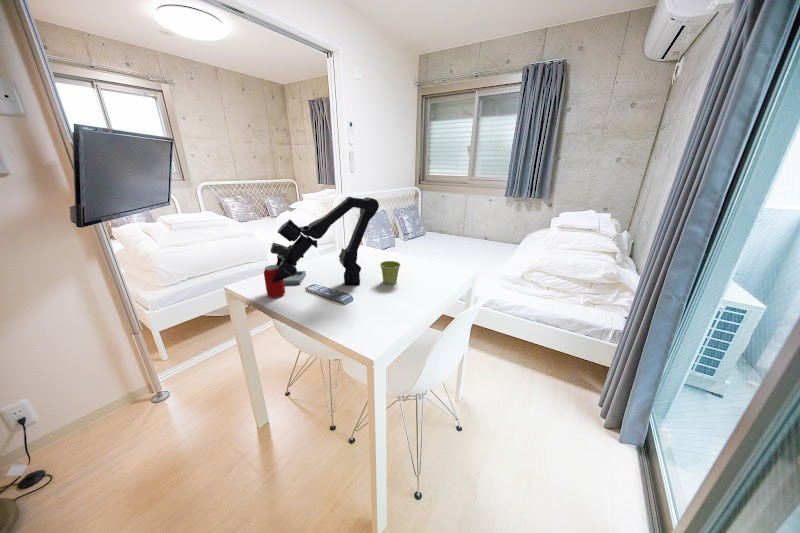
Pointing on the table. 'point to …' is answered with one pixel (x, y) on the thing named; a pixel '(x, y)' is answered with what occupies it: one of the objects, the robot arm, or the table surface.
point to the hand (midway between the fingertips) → (272, 278)
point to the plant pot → (390, 271)
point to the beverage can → (272, 288)
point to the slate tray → (295, 278)
